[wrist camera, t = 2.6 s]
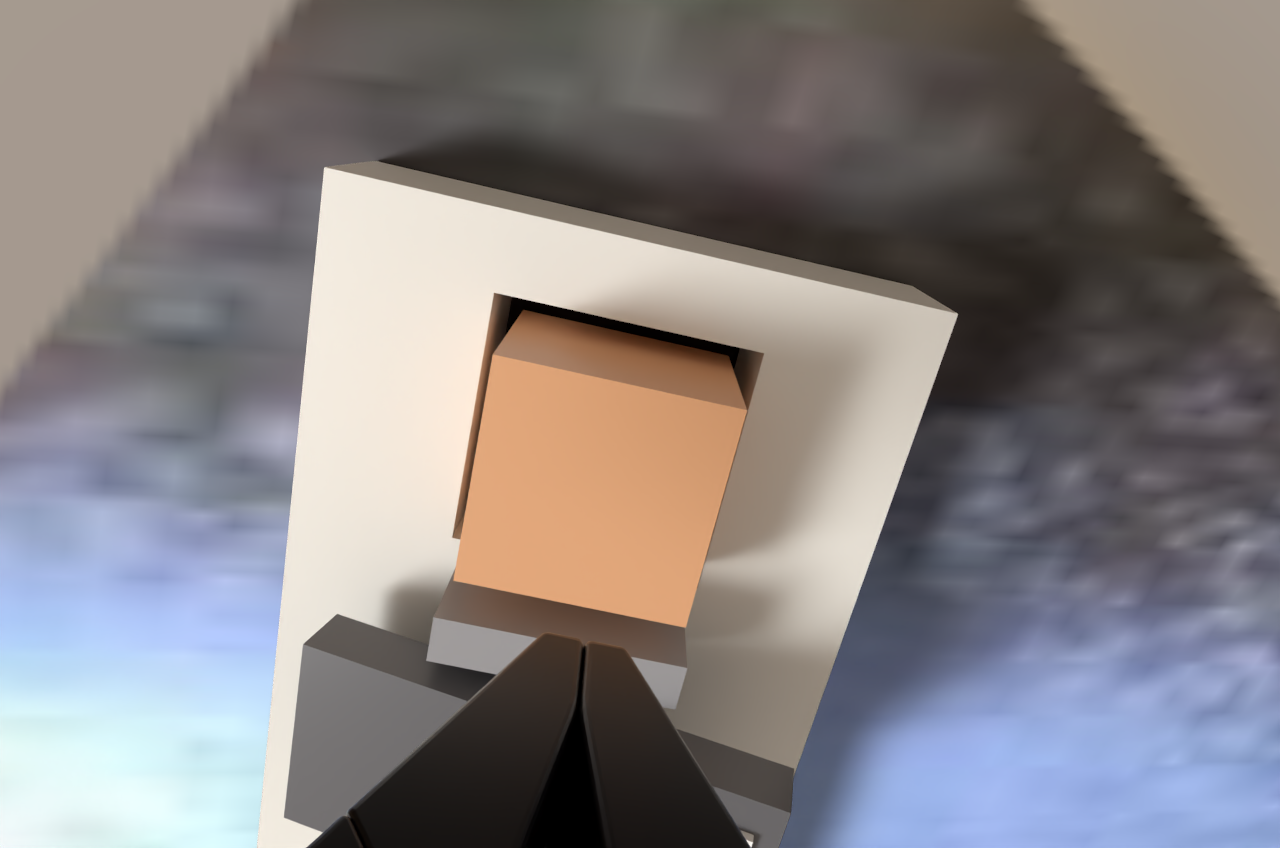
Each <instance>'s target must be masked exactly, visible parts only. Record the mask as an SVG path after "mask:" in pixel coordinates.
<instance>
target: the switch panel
mask: <svg viewBox="0 0 1280 848" xmlns="http://www.w3.org/2000/svg"><path fill="white" fill-rule="evenodd" d="M512 297H516V298H521V299H525V300H529V301H534V302H538V303H543V304H547V305H552V306H556V307H560V308H565V309H569V310H574V311H578V312H583V313H587V314H592V315H596V316H600V317H605V318H609V319H614V320H618V321H623V322H627V323H632V324H636V325H640V326H645V327H649V328H654V329H658V330H663V331H667V332H672V333H676V334H680V335H685V336H689V337H694V338H698V339H703V340H707V341H712V342H716V343H720V344H725V345H729V346H734V347H738V348H740V349H739V353H738V357H737V360H736V364H735V368H734V373H735V376H736V379H737V382H738V385H739V388H740V391H741V394H742V397H743V400H744V402H745V405H746V408H747V413H746V416H745V420H744V424H743V427H742V431H741V434H740V438H739V441H738V445H737V448H736V452H735V455H734V459H733V462H732V466H731V469H730V473H729V477H728V480H727V484H726V487H725V491H724V494H723V498H722V501H721V505H720V508H719V512H718V515H717V519H716V522H715V526H714V530H713V533H712V537H711V540H710V544H709V547H708V551H707V554H706V558H705V561H704V565H703V568H702V572H701V575H700V579H699V583H698V586H697V590H696V593H695V597H694V600H693V604H692V607H691V611H690V614H689V618H688V621H687V625H686V628H684V627H679V626H674V625H670V624H665V623H660V622H655V621H650V620H645V619H640V618H635V617H630V616H625V615H620V614H615V613H610V612H605V611H601V610H596V609H591V608H586V607H581V606H576V605H571V604H566V603H561V602H556V601H551V600H546V599H541V598H536V597H532V596H527V595H522V594H517V593H512V592H507V591H502V590H497V589H492V588H487V587H482V586H477V585H472V584H467V583H463V582H458V581H453V579H454V574H455V568H456V562H457V556H458V551H459V545H460V539H461V533H462V528H463V522H464V516H465V511H466V505H467V499H468V493H469V488H470V482H471V476H472V470H473V465H474V459H475V453H476V448H477V442H478V436H479V430H480V425H481V419H482V413H483V407H484V402H485V396H486V390H487V384H488V379H489V373H490V367H491V362H492V356H493V353H494V352H495V350H496V349H497V347H498V346H499V345H500V343H501V342H502V340H503V339H504V337H505V334H506V328H507V323H508V317H509V312H510V306H511V300H512ZM957 316H958V313H956V312H954V311H953V310H951V309H949V308H948V307H946V306H944V305H943V304H941V303H939V302H938V301H936V300H935V299H933V298H931V297H930V296H928V295H926V294H925V293H923V292H921V291H920V290H918V289H916V288H915V287H913V286H911V285H906V284H902V283H898V282H893V281H889V280H885V279H880V278H876V277H872V276H868V275H863V274H859V273H855V272H850V271H846V270H842V269H838V268H833V267H829V266H825V265H820V264H816V263H812V262H807V261H803V260H799V259H795V258H790V257H786V256H782V255H777V254H773V253H769V252H765V251H760V250H756V249H752V248H747V247H743V246H739V245H734V244H730V243H726V242H722V241H717V240H713V239H709V238H704V237H700V236H696V235H692V234H687V233H683V232H679V231H674V230H670V229H666V228H661V227H657V226H653V225H649V224H644V223H640V222H636V221H631V220H627V219H623V218H619V217H614V216H610V215H606V214H601V213H597V212H593V211H588V210H584V209H580V208H576V207H571V206H567V205H563V204H558V203H554V202H550V201H546V200H541V199H537V198H533V197H528V196H524V195H520V194H515V193H511V192H507V191H503V190H498V189H494V188H490V187H485V186H481V185H477V184H473V183H468V182H464V181H460V180H455V179H451V178H447V177H442V176H438V175H434V174H430V173H425V172H421V171H417V170H412V169H408V168H404V167H400V166H395V165H391V164H387V163H382V162H378V161H370V162H362V163H354V164H346V165H338V166H330V167H324V177H323V187H322V197H321V207H320V217H319V228H318V238H317V248H316V258H315V268H314V278H313V288H312V298H311V308H310V318H309V328H308V338H307V348H306V358H305V368H304V378H303V388H302V399H301V409H300V419H299V429H298V439H297V449H296V459H295V469H294V479H293V489H292V499H291V509H290V519H289V529H288V539H287V549H286V559H285V570H284V580H283V590H282V600H281V610H280V620H279V630H278V640H277V650H276V660H275V670H274V680H273V690H272V700H271V710H270V720H269V731H268V741H267V751H266V761H265V771H264V781H263V791H262V801H261V811H260V821H259V831H258V841H257V848H306V847H308V846H309V845H310V844H311V843H312V842H313V841H314V840H315V839H316V838H317V837H319V836H320V835H321V834H322V833H323V832H320V831H318V830H315V829H312V828H310V827H307V826H304V825H302V824H299V823H297V822H294V821H291V820H289V819H286V818H284V811H285V802H286V793H287V784H288V775H289V766H290V757H291V748H292V739H293V730H294V721H295V712H296V703H297V694H298V685H299V676H300V667H301V658H302V649H303V644H304V643H305V642H306V641H307V640H308V639H309V638H311V637H312V636H313V635H314V634H315V633H316V632H317V631H318V630H320V629H321V628H322V627H323V626H324V625H325V624H326V623H327V622H329V621H330V620H331V619H332V618H333V617H334V616H335V615H336V614H339V615H342V616H345V617H348V618H351V619H354V620H357V621H360V622H363V623H366V624H369V625H372V626H375V627H378V628H381V629H384V630H386V631H389V632H392V633H395V634H398V635H401V636H404V637H407V638H410V639H413V640H416V641H419V642H422V643H425V644H428V645H429V647H428V653H427V659H426V661H430V662H435V663H440V664H445V665H450V666H456V667H461V668H466V669H471V670H476V671H481V672H486V673H491V674H496V675H497V674H498V673H499V672H500V671H501V670H502V669H504V668H505V667H506V666H507V665H508V664H509V663H510V662H511V661H512V660H513V659H515V658H516V657H517V656H518V655H519V654H520V653H521V652H522V651H523V650H524V649H526V648H527V647H528V646H529V645H530V644H531V643H532V642H533V641H534V640H535V639H537V638H538V637H539V636H540V635H541V634H542V633H545V632H550V633H555V634H560V635H565V636H570V637H575V638H578V639H580V640H581V641H582V643H583V647H584V645H585V644H586V643H587V642H589V641H595V642H600V643H605V644H610V645H616V646H621V647H623V648H625V649H626V650H627V651H628V653H629V654H630V656H631V657H632V659H633V661H634V662H635V664H636V665H637V667H638V669H639V670H640V672H641V673H642V675H643V677H644V678H645V680H646V681H647V683H648V685H649V686H650V688H651V689H652V691H653V692H654V694H655V696H656V697H657V699H658V700H659V702H660V704H661V705H662V707H663V708H664V710H665V712H666V713H667V715H668V716H669V718H670V720H671V721H672V723H673V724H674V726H675V727H676V729H679V730H682V731H685V732H688V733H691V734H694V735H696V736H699V737H702V738H705V739H708V740H711V741H714V742H717V743H720V744H723V745H726V746H729V747H732V748H735V749H738V750H741V751H744V752H747V753H750V754H753V755H756V756H758V757H761V758H764V759H767V760H770V761H773V762H776V763H779V764H782V765H785V766H788V767H791V768H794V774H795V771H796V769H797V766H798V763H799V760H800V757H801V755H802V752H803V749H804V746H805V743H806V740H807V738H808V735H809V732H810V729H811V726H812V724H813V721H814V718H815V715H816V712H817V710H818V707H819V704H820V701H821V698H822V696H823V693H824V690H825V687H826V684H827V681H828V679H829V676H830V673H831V670H832V667H833V665H834V662H835V659H836V656H837V653H838V651H839V648H840V645H841V642H842V639H843V636H844V634H845V631H846V628H847V625H848V622H849V620H850V617H851V614H852V611H853V608H854V606H855V603H856V600H857V597H858V594H859V591H860V589H861V586H862V583H863V580H864V577H865V575H866V572H867V569H868V566H869V563H870V561H871V558H872V555H873V552H874V549H875V546H876V544H877V541H878V538H879V535H880V532H881V530H882V527H883V524H884V521H885V518H886V516H887V513H888V510H889V507H890V504H891V502H892V499H893V496H894V493H895V490H896V487H897V485H898V482H899V479H900V476H901V473H902V471H903V468H904V465H905V462H906V459H907V457H908V454H909V451H910V448H911V445H912V442H913V440H914V437H915V434H916V431H917V428H918V426H919V423H920V420H921V417H922V414H923V412H924V409H925V406H926V403H927V400H928V397H929V395H930V392H931V389H932V386H933V383H934V381H935V378H936V375H937V372H938V369H939V367H940V364H941V361H942V358H943V355H944V353H945V350H946V347H947V344H948V341H949V338H950V336H951V333H952V330H953V327H954V324H955V322H956V319H957Z"/></svg>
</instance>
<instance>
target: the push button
mask: <svg viewBox="0 0 1280 848" xmlns="http://www.w3.org/2000/svg"><path fill="white" fill-rule="evenodd" d="M746 413H747V408H746V405H745V402H744V400H743V397H742V394H741V391H740V388H739V385H738V382H737V379H736V376H735V373H734V370H733V367H732V365H731V362H730V359H729V356H727V355H723V354H719V353H714V352H710V351H705V350H701V349H696V348H692V347H687V346H683V345H678V344H674V343H670V342H665V341H661V340H656V339H652V338H647V337H643V336H638V335H634V334H629V333H625V332H620V331H616V330H612V329H607V328H603V327H598V326H594V325H589V324H585V323H580V322H576V321H571V320H567V319H563V318H558V317H554V316H549V315H545V314H540V313H536V312H531V311H527V310H523V311H522V313H521V314H520V315H519V317H518V318H517V320H516V321H515V323H514V324H513V326H512V327H511V329H510V330H509V331H508V333H507V334H506V336H505V337H504V339H503V340H502V342H501V343H500V345H499V346H498V347H497V349H496V350H495V352H494V353H493V356H492V362H491V367H490V373H489V379H488V384H487V390H486V396H485V402H484V407H483V413H482V419H481V425H480V430H479V436H478V442H477V448H476V453H475V459H474V465H473V470H472V476H471V482H470V488H469V493H468V499H467V505H466V511H465V516H464V522H463V528H462V533H461V539H460V545H459V551H458V556H457V562H456V568H455V574H454V579H453V581H458V582H463V583H467V584H472V585H477V586H482V587H487V588H492V589H497V590H502V591H507V592H512V593H517V594H522V595H527V596H532V597H536V598H541V599H546V600H551V601H556V602H561V603H566V604H571V605H576V606H581V607H586V608H591V609H596V610H601V611H605V612H610V613H615V614H620V615H625V616H630V617H635V618H640V619H645V620H650V621H655V622H660V623H665V624H670V625H674V626H679V627H684V628H686V625H687V621H688V618H689V614H690V611H691V607H692V604H693V600H694V597H695V593H696V590H697V586H698V583H699V579H700V575H701V572H702V568H703V565H704V561H705V558H706V554H707V551H708V547H709V544H710V540H711V537H712V533H713V530H714V526H715V522H716V519H717V515H718V512H719V508H720V505H721V501H722V498H723V494H724V491H725V487H726V484H727V480H728V477H729V473H730V469H731V466H732V462H733V459H734V455H735V452H736V448H737V445H738V441H739V438H740V434H741V431H742V427H743V424H744V420H745V416H746Z"/></svg>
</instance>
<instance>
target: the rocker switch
mask: <svg viewBox="0 0 1280 848" xmlns="http://www.w3.org/2000/svg"><path fill="white" fill-rule="evenodd" d="M428 647H429V645H428V644H425V643H422V642H419V641H416V640H413V639H410V638H407V637H404V636H401V635H398V634H395V633H392V632H389V631H386V630H384V629H381V628H378V627H375V626H372V625H369V624H366V623H363V622H360V621H357V620H354V619H351V618H348V617H345V616H342V615H339V614H336V615H335V616H334V617H333V618H332V619H331V620H330V621H329V622H327V623H326V624H325V625H324V626H323V627H322V628H321V629H320V630H318V631H317V632H316V633H315V634H314V635H313V636H312V637H311V638H309V639H308V640H307V641H306V642H305V643H304V644H303V649H302V658H301V667H300V676H299V685H298V694H297V703H296V712H295V721H294V730H293V739H292V748H291V757H290V766H289V775H288V784H287V793H286V802H285V811H284V818H286V819H289V820H291V821H294V822H297V823H299V824H302V825H304V826H307V827H310V828H312V829H315V830H318V831H320V832H324V831H325V830H326V829H327V828H328V827H329V826H330V825H332V824H333V823H334V822H335V821H336V820H337V819H338V818H339V817H341V816H343V815H346V813H347V811H348V810H349V809H350V808H351V807H352V806H353V805H354V804H355V803H356V802H357V801H359V800H360V799H361V798H362V797H363V796H364V795H365V794H366V793H367V792H368V791H370V790H371V789H372V788H373V787H374V786H375V785H376V784H377V783H378V782H379V781H381V780H382V779H383V778H384V777H385V776H386V775H387V774H388V773H389V772H390V771H392V770H393V769H394V768H395V767H396V766H397V765H398V764H399V763H400V762H401V761H403V760H404V759H405V758H406V757H407V756H408V755H409V754H410V753H411V752H412V751H414V750H415V749H416V748H417V747H418V746H419V745H420V744H421V743H422V742H423V741H425V740H426V739H427V738H428V737H429V736H430V735H431V734H432V733H433V732H434V731H435V730H437V729H438V728H439V727H440V726H441V725H442V724H443V723H444V722H445V721H446V720H448V719H449V718H450V717H451V716H452V715H453V714H454V713H455V712H456V711H457V710H459V709H460V708H461V707H462V706H463V705H464V704H465V703H466V702H467V701H468V700H470V699H471V698H472V697H473V696H474V695H475V694H476V693H477V692H478V691H479V690H481V689H482V688H483V687H484V686H485V685H486V684H487V683H488V682H489V681H490V680H492V679H493V678H494V677H495V676H496V674H491V673H486V672H481V671H476V670H471V669H466V668H461V667H456V666H450V665H445V664H440V663H435V662H430V661H426V659H427V653H428ZM677 731H678V732H679V734H680V735H681V737H682V739H683V740H684V742H685V743H686V745H687V747H688V748H689V750H690V751H691V753H692V755H693V756H694V758H695V759H696V761H697V763H698V764H699V766H700V767H701V769H702V770H703V772H704V774H705V775H706V777H707V778H708V780H709V782H710V783H711V785H712V786H713V788H714V790H715V791H716V793H717V794H718V796H719V798H720V799H721V801H722V802H723V804H724V805H725V807H726V809H727V810H728V812H729V813H730V815H731V817H732V818H733V820H734V821H735V823H736V825H737V826H738V828H739V829H740V831H741V833H742V834H743V836H744V837H745V839H746V841H747V842H748V844H749V845H750V847H751V848H779V845H780V842H781V840H782V837H783V834H784V831H785V829H786V826H787V823H788V820H789V817H790V815H791V806H792V791H793V777H794V768H791V767H788V766H785V765H782V764H779V763H776V762H773V761H770V760H767V759H764V758H761V757H758V756H756V755H753V754H750V753H747V752H744V751H741V750H738V749H735V748H732V747H729V746H726V745H723V744H720V743H717V742H714V741H711V740H708V739H705V738H702V737H699V736H696V735H694V734H691V733H688V732H685V731H682V730H679V729H677Z"/></svg>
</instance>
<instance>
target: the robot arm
mask: <svg viewBox="0 0 1280 848" xmlns="http://www.w3.org/2000/svg"><path fill="white" fill-rule="evenodd" d="M306 848H751V847H750V845H749V844H748V842H747V841H746V839H745V837H744V836H743V834H742V833H741V831H740V829H739V828H738V826H737V825H736V823H735V821H734V820H733V818H732V817H731V815H730V813H729V812H728V810H727V809H726V807H725V805H724V804H723V802H722V801H721V799H720V798H719V796H718V794H717V793H716V791H715V790H714V788H713V786H712V785H711V783H710V782H709V780H708V778H707V777H706V775H705V774H704V772H703V770H702V769H701V767H700V766H699V764H698V763H697V761H696V759H695V758H694V756H693V755H692V753H691V751H690V750H689V748H688V747H687V745H686V743H685V742H684V740H683V739H682V737H681V735H680V734H679V732H678V731H677V729H676V727H675V726H674V724H673V723H672V721H671V720H670V718H669V716H668V715H667V713H666V712H665V710H664V708H663V707H662V705H661V704H660V702H659V700H658V699H657V697H656V696H655V694H654V692H653V691H652V689H651V688H650V686H649V685H648V683H647V681H646V680H645V678H644V677H643V675H642V673H641V672H640V670H639V669H638V667H637V665H636V664H635V662H634V661H633V659H632V657H631V656H630V654H629V653H628V651H627V650H626V649H625V648H623V647H621V646H616V645H610V644H605V643H600V642H595V641H589V642H587V643H586V644H585V645H584V647H583V643H582V641H581V640H580V639H578V638H575V637H570V636H565V635H560V634H555V633H550V632H545V633H542V634H541V635H540V636H539V637H538V638H537V639H535V640H534V641H533V642H532V643H531V644H530V645H529V646H528V647H527V648H526V649H524V650H523V651H522V652H521V653H520V654H519V655H518V656H517V657H516V658H515V659H513V660H512V661H511V662H510V663H509V664H508V665H507V666H506V667H505V668H504V669H502V670H501V671H500V672H499V673H498V674H497V675H496V676H495V677H494V678H493V679H492V680H490V681H489V682H488V683H487V684H486V685H485V686H484V687H483V688H482V689H481V690H479V691H478V692H477V693H476V694H475V695H474V696H473V697H472V698H471V699H470V700H468V701H467V702H466V703H465V704H464V705H463V706H462V707H461V708H460V709H459V710H457V711H456V712H455V713H454V714H453V715H452V716H451V717H450V718H449V719H448V720H446V721H445V722H444V723H443V724H442V725H441V726H440V727H439V728H438V729H437V730H435V731H434V732H433V733H432V734H431V735H430V736H429V737H428V738H427V739H426V740H425V741H423V742H422V743H421V744H420V745H419V746H418V747H417V748H416V749H415V750H414V751H412V752H411V753H410V754H409V755H408V756H407V757H406V758H405V759H404V760H403V761H401V762H400V763H399V764H398V765H397V766H396V767H395V768H394V769H393V770H392V771H390V772H389V773H388V774H387V775H386V776H385V777H384V778H383V779H382V780H381V781H379V782H378V783H377V784H376V785H375V786H374V787H373V788H372V789H371V790H370V791H368V792H367V793H366V794H365V795H364V796H363V797H362V798H361V799H360V800H359V801H357V802H356V803H355V804H354V805H353V806H352V807H351V808H350V809H349V810H348V811H347V813H346V815H343V816H341V817H339V818H338V819H337V820H336V821H335V822H334V823H333V824H332V825H330V826H329V827H328V828H327V829H326V830H325V831H324V832H323V833H322V834H321V835H320V836H319V837H317V838H316V839H315V840H314V841H313V842H312V843H311V844H310V845H309V846H308V847H306Z"/></svg>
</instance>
